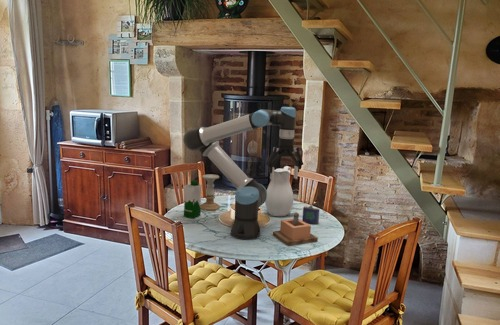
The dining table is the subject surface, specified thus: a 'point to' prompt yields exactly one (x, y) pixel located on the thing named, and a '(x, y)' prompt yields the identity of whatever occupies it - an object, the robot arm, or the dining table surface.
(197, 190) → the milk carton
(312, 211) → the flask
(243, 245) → the dining table surface
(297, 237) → the orange square ring
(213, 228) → the dining table surface
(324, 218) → the dining table surface
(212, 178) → the candle holder
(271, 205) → the pitcher
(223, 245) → the dining table surface
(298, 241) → the hook peg board
